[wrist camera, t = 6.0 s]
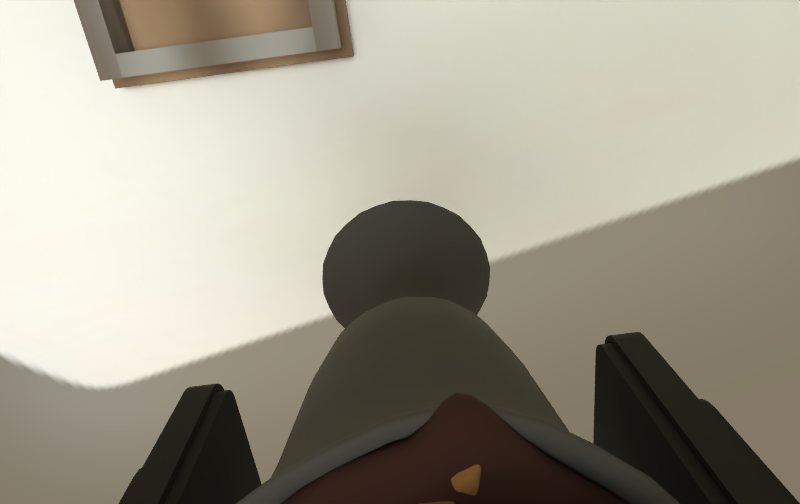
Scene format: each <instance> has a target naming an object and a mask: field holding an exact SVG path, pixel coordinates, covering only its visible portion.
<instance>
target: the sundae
mask: <svg viewBox="0 0 800 504" xmlns="http://www.w3.org/2000/svg"><path fill="white" fill-rule="evenodd" d="M489 275H490V266H489V262H488V258H487V254H486V251H485V249H484V246H483V244H482V241H481V239H480V238H479V236H478V235H477V234H476V233H475V231H474V230H473V229H472V228H471V227H470V226H469V225H468V224H467V223H466V222H465V221H464V220H463V219H462V218H461V217H460V216H459V215H457V214H455V213H453V212H451V211H449V210H447V209H445V208H443V207H440V206H437V205H435V204H432V203H429V202H422V201H411V200H410V201H392V202H388V203H385V204H381V205H378V206H375V207H373V208H371V209H368V210H366V211H364V212H361V213H360V214H358V215H357V216H356V217H355V218H353V219H352V220H351V221H350V222H349V223H347V224H346V225H345V226H344V227H343V228H342V229H341V231H340V232H339V233H338V234H337V235H336V236H335V238H334V240H333V242H332V244H331V246H330V247H329V249H328V252H327V255H326V258H325V260H324V263H323V290H324V295H325V298H326V300H327V303H328V305H329V308H330V309H331V311H332V313H333V315H334V316H335V318H336V320H337V321H338V322H339V323H340V324H341V325H342V326H343V327H344V328H345V329H344V330H343V331H342V332H341V334H340V335H339V337H338V338H337V340H336V341H335V343H334V345H333V346H332V348H331V350H330V351H329V353H328V355H327V356H326V358H325V360H324V362H323V364H322V365H321V366H320V368H319V370H318V372H317V373H316V375H315V377H314V379H313V381H312V383H311V385H310V387H309V389H308V391H307V394H306V396H305V399H304V401H303V404H302V406H301V409H300V411H299V413H298V416H297V419H296V421H295V423H294V426H293V428H292V431H291V433H290V436H289V438H288V441H287V443H286V446H285V448H284V451H283V453H282V456H281V458H280V461H279V463H278V465H277V467H276V469H275V471H274V473H273V475H272V477H271V478H270V479H269V480H268V481H266V482H265V483H263V484H262V485H261V486H259V487H258V488H257V489H255V490H254V491H252V492H251V493H250V494H248V495H247V496H246V497H244V498H243V499H242V500H240V501H239V502H238V503H236V504H680V503H679V502H678V501H677V500H676V499H674V498H673V497H672V496H671V495H670V494H669V493H668V492H667V491H665V490H664V489H663V488H662V487H661V486H660V485H659V484H658V483H657V482H655V481H654V480H653V479H652V478H651V477H649V476H648V475H646V474H644V473H643V472H641V471H639V470H637V469H636V468H634V467H632V466H631V465H629V464H627V463H625V462H624V461H622V460H620V459H619V458H617V457H615V456H613V455H612V454H610V453H608V452H606V451H605V450H603V449H601V448H600V447H598V446H596V445H594V444H593V443H591V442H589V441H586V440H584V439H582V438H580V437H578V436H576V435H574V434H572V433H570V432H569V431H568V429H567V428H566V426H565V425H564V423H563V422H562V420H561V419H560V418H559V416H558V415H557V413H556V412H555V410H554V409H553V407H552V406H551V404H550V403H549V401H548V400H547V398H546V397H545V395H544V394H543V392H542V391H541V389H540V388H539V387H538V385H537V384H536V382H535V381H534V379H533V378H532V376H531V375H530V373H529V372H528V370H527V369H526V368H525V366H524V365H523V363H522V362H521V361H520V360H519V359H518V357H517V356H516V355H515V354H514V353H513V352H512V350H511V349H510V348H509V347H508V346H507V345H506V344H505V343H504V342H503V341H502V340H501V339H500V337H499V336H498V335H497V334H496V333H495V332H494V331H493V330H492V329H491V328H490V327H489V326H488V325H487V324H486V323H485V322H484V321H483V320H482V319H481V318H480V317H478V316H477V314H478V312H479V311H480V309H481V307H482V305H483V303H484V301H485V299H486V297H487V291H488V286H489V278H490V277H489Z"/></svg>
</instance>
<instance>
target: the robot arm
mask: <svg viewBox="0 0 800 504" xmlns="http://www.w3.org/2000/svg"><path fill="white" fill-rule="evenodd" d="M595 367H596V368H595V407H594V445H596V446H598V447H600V448H601V449H603V450H605V451H606V452H608V453H610V454H612V455H613V456H615V457H617V458H619V459H620V460H622V461H624V462H625V463H627V464H629V465H631V466H632V467H634V468H636V469H637V470H639V471H641V472H643V473H644V474H646V475H648V476H649V477H651V478H652V479H653V480H654V481H655V482H657V483H658V484H659V485H660V486H661V487H662V488H663V489H664V490H665V491H667V492H668V493H669V494H670V495H671V496H672V497H673V498H674V499H676V500H677V501H678V502H679V503H680V504H800V503H799V502H798V501H797V500H796V499H795V498H794V496H793V495H792V494H791V493H790V492H789V491H788V490H787V489H786V487H785V486H784V485H783V484H782V483H781V482H780V481H779V480H778V479H777V477H776V476H775V475H774V474H773V473H772V472H771V470H770V469H769V468H768V467H767V466H766V465H765V464H764V463H763V461H762V460H761V459H760V458H759V457H758V456H757V455H756V454H755V452H754V451H753V450H752V449H751V448H750V447H749V446H748V444H747V443H746V442H745V441H744V440H743V439H742V438H741V436H740V435H739V434H738V433H737V432H736V431H735V430H734V429H733V427H732V426H731V425H730V424H729V423H728V422H727V421H726V420H725V419H724V417H723V416H722V415H721V414H720V413H719V412H718V410H717V409H716V408H715V407H714V406H713V405H711V404H710V403H709V402H708V401H706V400H703V399H698V398H697V397H696V396H695V395H694V393H693V392H692V391H691V390H690V389H689V388H688V387H687V385H686V384H685V383H684V382H683V380H682V379H681V378H680V377H679V376H678V375H677V374H676V372H675V371H674V370H673V369H672V368H671V367H670V365H669V364H668V363H667V362H666V361H665V360H664V358H663V357H662V356H661V355H660V354H659V353H658V351H657V350H656V349H655V348H654V347H653V346H652V345H651V343H650V342H649V341H648V340H647V339H646V338H645V336H644V335H643V334H641V333H640V332H634V333H626V334H618V335H610V336H607V337H606V340H605V344H602V345H598V346H597V348H596V366H595ZM261 485H262V484H261V481H260V478H259V475H258V471H257V468H256V465H255V462H254V458H253V455H252V452H251V449H250V445H249V442H248V439H247V436H246V432H245V429H244V426H243V423H242V419H241V416H240V413H239V410H238V406H237V403H236V400H235V397H234V394H233V393H232V391H230V390H226V391H224V389H223V387H222V386H221V385H220V384H211V385H203V386H194V387H189V388H187V389H186V390H185V392H184V393H183V395H182V397H181V399H180V400H179V402H178V404H177V406H176V408H175V409H174V411H173V413H172V415H171V417H170V418H169V420H168V422H167V424H166V426H165V428H164V429H163V431H162V433H161V435H160V437H159V438H158V440H157V442H156V444H155V446H154V447H153V449H152V451H151V453H150V455H149V456H148V458H147V460H146V462H145V464H144V465H143V467H142V468H141V469H139V470H138V472H137V473H136V475H135V476H134V477H133V479H132V481H131V483H130V484H129V486H128V488H127V490H126V492H125V493H124V495H123V497H122V499H121V500H120V502H119V504H236V503H238V502H239V501H240V500H242V499H243V498H244V497H246V496H247V495H248V494H250V493H251V492H252V491H254V490H255V489H257V488H258V487H259V486H261Z"/></svg>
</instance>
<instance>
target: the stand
mask: <svg viewBox="0 0 800 504" xmlns="http://www.w3.org/2000/svg"><path fill="white" fill-rule="evenodd" d="M74 3H75V6H76V9H77V12H78V15H79V18H80V21H81V24H82V27H83V30H84V33H85V36H86V39H87V42H88V45H89V48H90V51H91V54H92V57H93V60H94V63H95V66H96V69H97V72H98V75H99V78H100V81H102V80H109V79H112V80H113V83H114V86H115V88H122V87H129V86H137V85H144V84H152V83H159V82H166V81H174V80H181V79H188V78H196V77H203V76H210V75H218V74H225V73H232V72H240V71H247V70H255V69H262V68H269V67H277V66H284V65H291V64H299V63H306V62H313V61H321V60H328V59H335V58H343V57H350V56H353V49H352V42H351V35H350V29H349V22H348V15H347V9H346V2H345V0H74Z"/></svg>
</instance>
